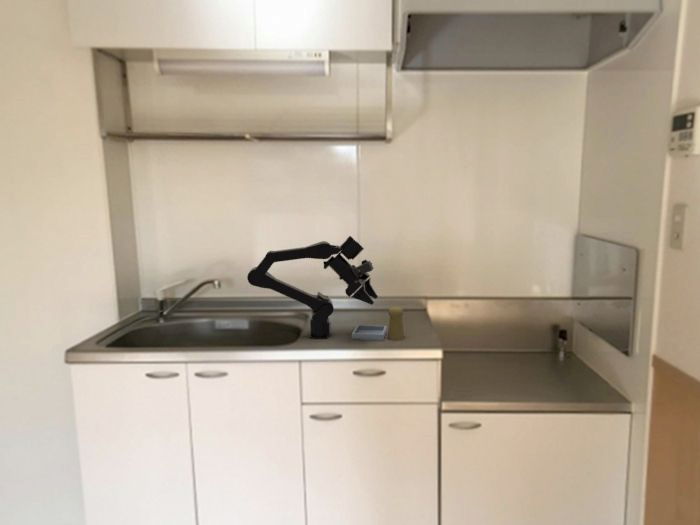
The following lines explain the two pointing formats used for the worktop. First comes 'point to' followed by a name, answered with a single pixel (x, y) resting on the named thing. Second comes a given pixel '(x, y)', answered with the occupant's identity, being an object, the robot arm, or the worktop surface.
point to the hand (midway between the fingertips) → (375, 300)
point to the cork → (396, 324)
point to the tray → (369, 332)
